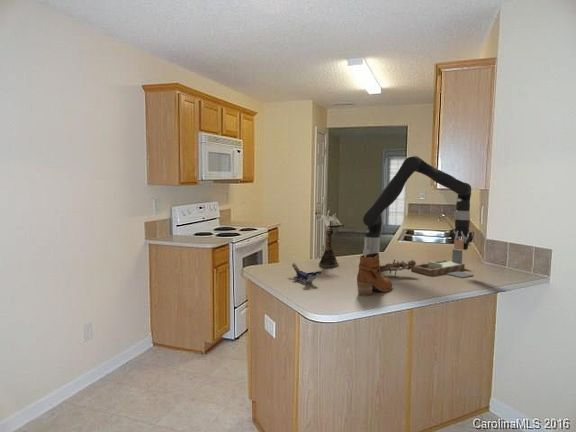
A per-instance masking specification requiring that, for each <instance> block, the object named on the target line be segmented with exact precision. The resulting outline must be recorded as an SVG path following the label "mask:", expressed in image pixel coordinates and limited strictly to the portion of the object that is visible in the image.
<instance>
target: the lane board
mask: <svg viewBox="0 0 576 432" xmlns="http://www.w3.org/2000/svg"><path fill="white" fill-rule="evenodd" d="M434 262H435V263H443V262H448V261H447V260H438V261H434ZM428 264H429V262H425V263H419V264H418V263H417V264H416V265H415V266H414V267H412V268H411V269H410V272H414V273H417V274H422V275H426V276H430V277H432V276H438V275H444V274H447V273H451V272H457V271H459V272H462V271H465V267H466V264H465V263H464V264H465V265H464V264H460V265H454V266H448V267H442V268H436V269H434V268H430V267H428Z"/></svg>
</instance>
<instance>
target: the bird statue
mask: <svg viewBox="0 0 576 432" xmlns="http://www.w3.org/2000/svg"><path fill="white" fill-rule="evenodd" d="M320 218H321V220H322V221H323V223H324V224H325V230H324V231H325V235H326V236H327V237H326V244H327V245H326V248H324V252H323V254H322V256H321V258H320V261H319V262H318V266H319V267H321V268H327V269H329V268H331V269H332V268H338V267H339V266H340V265H339V263H338V260H337V257H336V254H335V253H334V251H333V248H332V247H331V246H332V235H333V234H334V229H333V228H341V227H344V225H345V224H342V223H341V221H340V220H339V218H338V217H337V214H336V212H335V213H334V214H332V215H331V211H330V209H328V210H327V215H326V216H325V215H322V214H321V215H320Z"/></svg>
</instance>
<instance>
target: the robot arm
mask: <svg viewBox="0 0 576 432" xmlns="http://www.w3.org/2000/svg"><path fill="white" fill-rule="evenodd" d="M415 172H417V173H419V174H421V175H425V176H426V177H427V178H430V179H431V180H432V181H434V182H435V183H437V184H438V185H441V186H443V187H444V188H447V189H449V190H451V191H452V192H453V193H456V194H457V200H456V203H455V205H456V207H455V214H454V215H455V217H454V229H450V230H449V232H450V238H451V241H453V243H455V240H457V239H461V238H462V240H464V250H463V251H466V250H468V249H469V243H472V242H473V238H474V235H475V232H474V231H471V230H470V227H471V226H470V223H471V221H470V220H471V217H470V216H471V211H470V210H471V197H472V186H471V184H469V183H467V182H463V181H462V180H459V179H458V178H456V177H455V176H453V175H450V174H449V173H446V172H445V171H442V170H440V169H438V168H436V167H434V166H432V165H430V164H429V163H427V162H426V161H424V160H423V159H422V158H420V157H419V156H418V155H411V156H407V157H406V158H405V159H404V160H403V162H402V164H401V165H400V168H399V169H398V171H397V172H396V174H395V175H394V176H393V177H392V179H391V180H390V181H389V182H388V183H387V184H386V186H385V188H384V189H383V190H382V191H381V193H380V195H379V196H378V198H377V199H376V200H375V202H374V203H373V205H372V206H371V207H369V209H368V210H367V211H366V212H365V214H364V215H363V219H362V221H363V224H364V225H365V226H366V227H367V228H366V231H365V232H364V248H363V249H362V250H363V251H362V253H363V254H362V255H364V257H366V255H367V254H372V253H379V254H380V239H381V237H380V236H381V233H382V222H383V220H382V213H383V212H384V211H385V210H386V209H387V208H388V207H390V206H391V205H392V204H393V203H394V202H395V201H396V200H397V199H398V197H399V196H400V195H401V193H402V192H403V189H404V187H405V185H406V182H407V181H408V180H409V179H410V177H411V176H412V175H413V174H414V173H415Z"/></svg>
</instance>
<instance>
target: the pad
mask: <svg viewBox="0 0 576 432" xmlns="http://www.w3.org/2000/svg"><path fill="white" fill-rule="evenodd" d="M446 275H448V276H452V277H456V278H459V279H463V278H470V277H474V274H471V273H467V272H463V271H455V272H450V273H446Z"/></svg>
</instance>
